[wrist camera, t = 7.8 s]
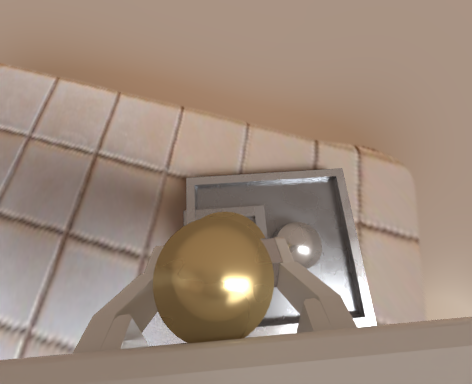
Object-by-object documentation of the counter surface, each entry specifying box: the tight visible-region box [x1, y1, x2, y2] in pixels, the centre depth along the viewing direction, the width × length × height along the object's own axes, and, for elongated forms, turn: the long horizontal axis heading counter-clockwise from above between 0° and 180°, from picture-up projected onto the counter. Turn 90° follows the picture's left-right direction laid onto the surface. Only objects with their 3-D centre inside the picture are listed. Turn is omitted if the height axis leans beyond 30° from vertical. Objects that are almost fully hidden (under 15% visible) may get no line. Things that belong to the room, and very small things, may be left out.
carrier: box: [184, 168, 377, 338], centre depth 23 cm, size 20×18×4 cm
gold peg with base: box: [153, 212, 274, 343], centre depth 11 cm, size 6×6×10 cm
